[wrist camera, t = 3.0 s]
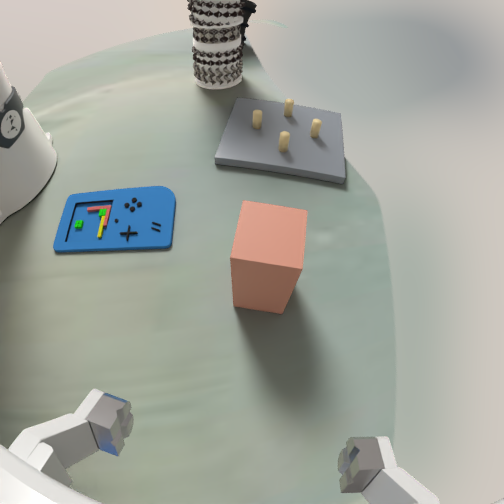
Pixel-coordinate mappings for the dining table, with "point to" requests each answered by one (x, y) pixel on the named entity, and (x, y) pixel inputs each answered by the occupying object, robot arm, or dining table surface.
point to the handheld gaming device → (117, 220)
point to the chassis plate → (284, 140)
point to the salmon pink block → (267, 255)
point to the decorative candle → (217, 42)
